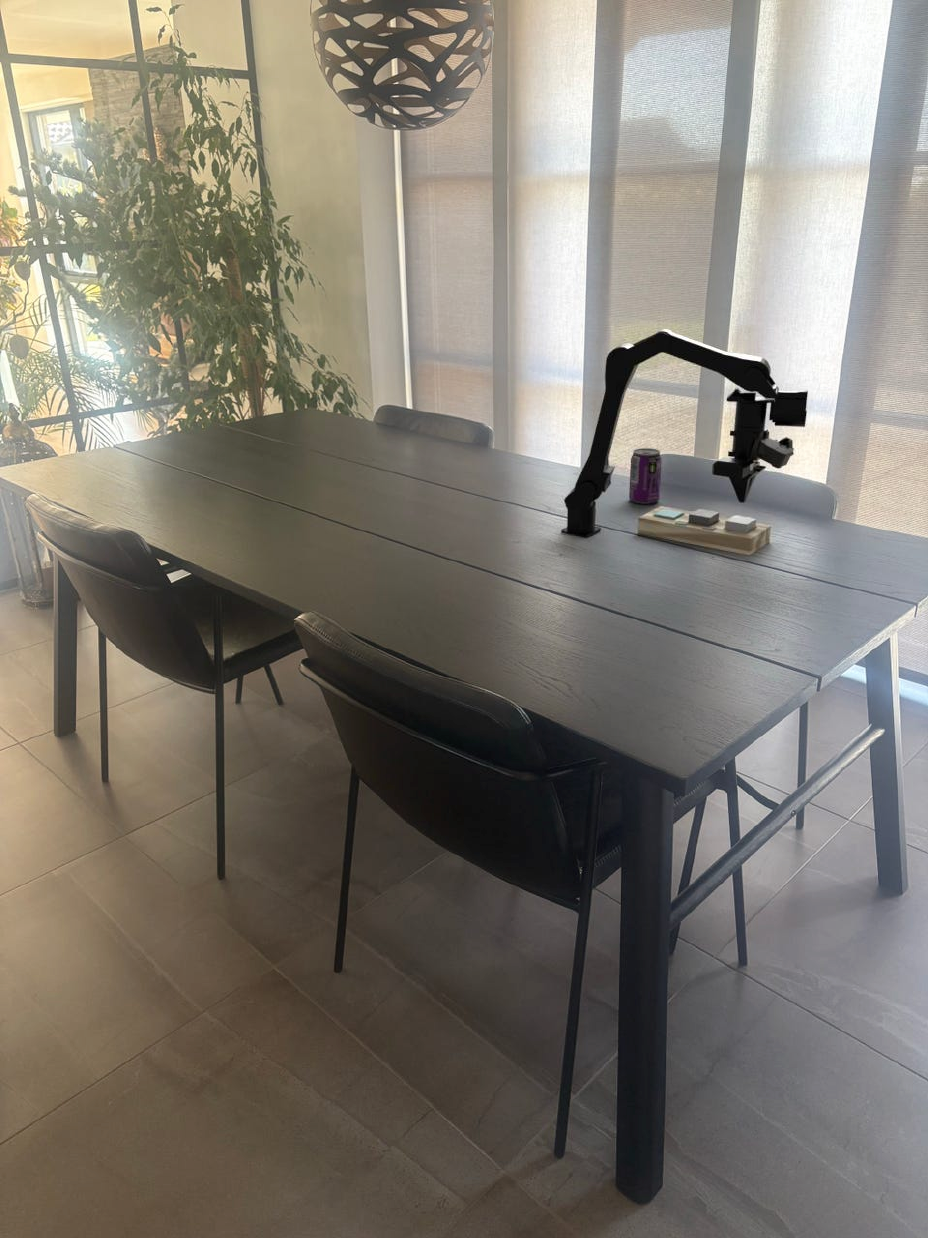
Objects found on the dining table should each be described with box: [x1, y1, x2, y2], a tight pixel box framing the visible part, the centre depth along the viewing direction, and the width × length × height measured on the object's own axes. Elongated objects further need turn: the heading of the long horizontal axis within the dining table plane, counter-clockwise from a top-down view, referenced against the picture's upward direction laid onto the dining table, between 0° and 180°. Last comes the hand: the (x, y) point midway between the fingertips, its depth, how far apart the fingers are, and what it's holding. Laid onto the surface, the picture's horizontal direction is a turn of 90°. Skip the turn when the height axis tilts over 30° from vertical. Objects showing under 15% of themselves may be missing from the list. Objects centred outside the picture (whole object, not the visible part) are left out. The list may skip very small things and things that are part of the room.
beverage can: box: [628, 447, 663, 505], centre depth 219 cm, size 7×7×12 cm
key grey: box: [725, 514, 757, 534], centre depth 189 cm, size 5×5×3 cm
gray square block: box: [688, 508, 720, 527], centre depth 194 cm, size 5×5×3 cm
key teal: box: [654, 509, 684, 520], centre depth 199 cm, size 5×5×3 cm
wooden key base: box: [637, 505, 772, 556], centre depth 195 cm, size 10×25×4 cm, turn 51°
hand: (742, 502), depth 187 cm, fingers closed
